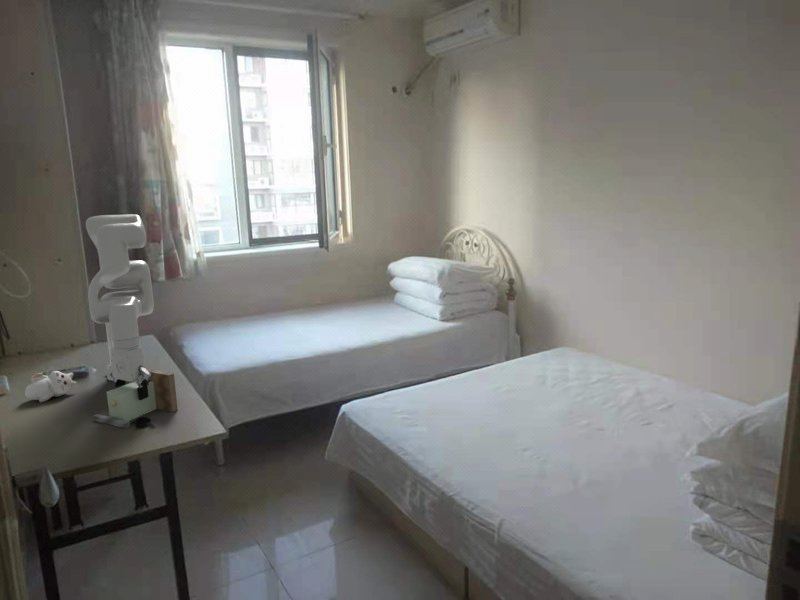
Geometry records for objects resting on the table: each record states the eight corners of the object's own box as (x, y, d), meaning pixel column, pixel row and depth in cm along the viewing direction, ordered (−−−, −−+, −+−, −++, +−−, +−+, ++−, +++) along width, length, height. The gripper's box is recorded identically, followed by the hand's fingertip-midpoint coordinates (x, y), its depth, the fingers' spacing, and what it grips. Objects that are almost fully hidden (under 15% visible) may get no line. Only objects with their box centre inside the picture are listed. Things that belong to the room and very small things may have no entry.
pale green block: (107, 421, 175) (103, 393, 173) (143, 406, 186) (140, 379, 184) (121, 424, 172) (117, 395, 170) (156, 409, 184) (153, 381, 182)
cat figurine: (19, 376, 188) (70, 361, 197) (19, 383, 194) (69, 368, 203) (30, 403, 186) (80, 387, 196) (29, 409, 193) (78, 393, 202)
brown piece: (87, 418, 177) (82, 381, 174) (133, 400, 191) (129, 365, 189) (133, 430, 168) (128, 390, 165) (177, 409, 182) (173, 373, 180)
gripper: (95, 342, 176) (102, 395, 180) (135, 349, 168) (142, 405, 172) (117, 336, 182) (123, 387, 186) (156, 342, 175) (162, 396, 179)
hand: (132, 395), depth 179 cm, fingers open, 9 cm apart
